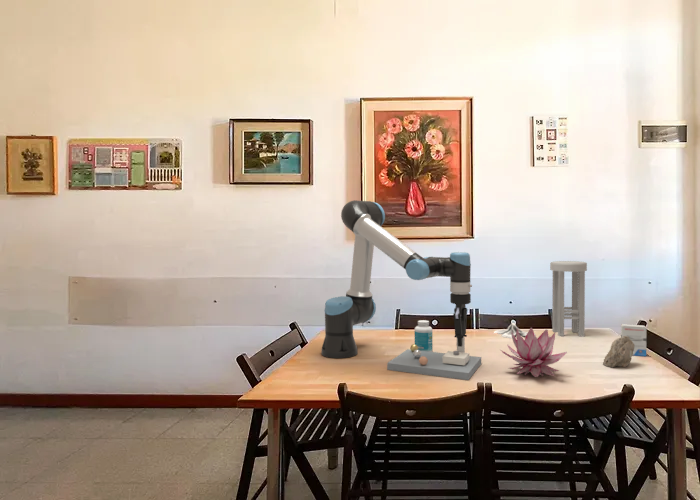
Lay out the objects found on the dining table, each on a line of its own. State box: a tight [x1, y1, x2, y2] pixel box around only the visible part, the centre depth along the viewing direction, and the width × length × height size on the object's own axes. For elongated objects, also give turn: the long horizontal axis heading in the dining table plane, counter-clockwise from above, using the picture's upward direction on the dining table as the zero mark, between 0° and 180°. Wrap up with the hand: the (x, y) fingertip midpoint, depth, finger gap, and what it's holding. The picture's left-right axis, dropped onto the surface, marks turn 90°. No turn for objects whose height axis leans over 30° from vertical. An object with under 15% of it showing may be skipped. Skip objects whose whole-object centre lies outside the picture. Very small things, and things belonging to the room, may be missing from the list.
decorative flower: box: [500, 327, 568, 378], centre depth 167 cm, size 21×21×15 cm
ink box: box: [620, 323, 648, 357], centre depth 191 cm, size 8×5×12 cm, turn 65°
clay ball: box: [419, 356, 428, 365], centre depth 171 cm, size 3×3×3 cm
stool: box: [549, 260, 588, 338], centre depth 228 cm, size 16×16×35 cm
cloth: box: [493, 322, 536, 339], centre depth 231 cm, size 22×19×6 cm
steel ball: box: [413, 350, 422, 358], centre depth 181 cm, size 3×3×3 cm
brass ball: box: [409, 343, 418, 352], centre depth 190 cm, size 3×3×3 cm
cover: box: [443, 350, 470, 365], centre depth 174 cm, size 8×8×4 cm
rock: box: [602, 336, 635, 368], centre depth 176 cm, size 14×10×8 cm
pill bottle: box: [414, 319, 433, 352], centre depth 197 cm, size 8×7×14 cm
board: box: [386, 348, 482, 381], centre depth 178 cm, size 30×22×2 cm
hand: (460, 354), depth 180 cm, fingers closed
